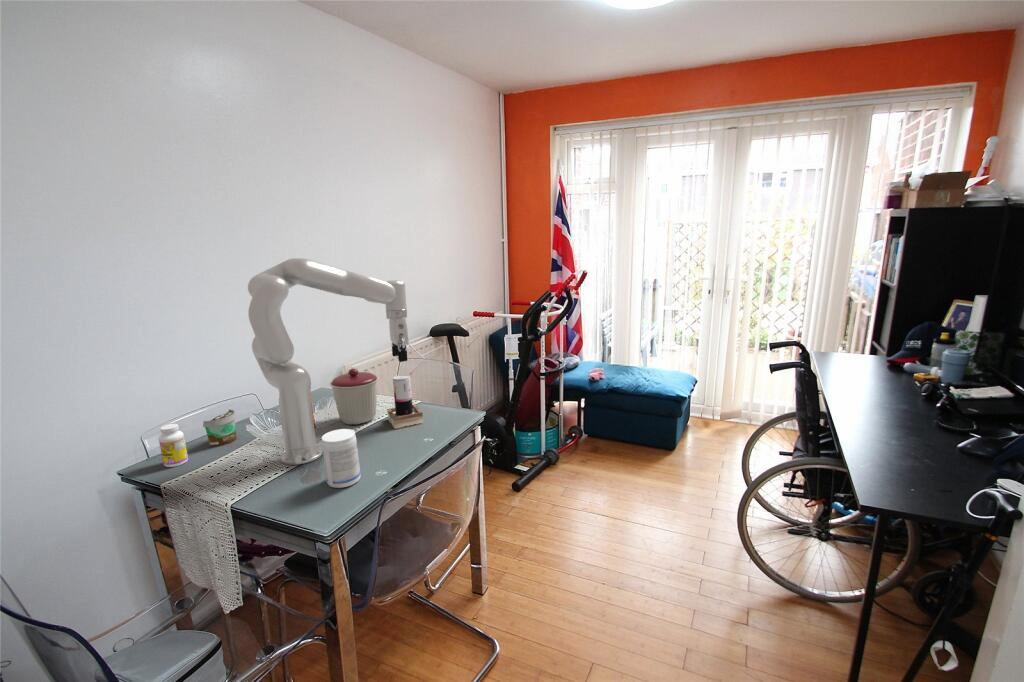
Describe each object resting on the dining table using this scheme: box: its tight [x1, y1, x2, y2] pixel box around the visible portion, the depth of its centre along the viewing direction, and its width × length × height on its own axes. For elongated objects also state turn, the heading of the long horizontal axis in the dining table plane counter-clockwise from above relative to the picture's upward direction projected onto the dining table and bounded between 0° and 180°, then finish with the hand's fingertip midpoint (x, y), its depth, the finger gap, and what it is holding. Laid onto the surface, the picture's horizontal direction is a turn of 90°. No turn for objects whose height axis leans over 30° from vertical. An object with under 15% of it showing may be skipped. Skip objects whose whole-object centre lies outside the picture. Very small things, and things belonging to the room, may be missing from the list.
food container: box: [202, 409, 238, 447], centre depth 169 cm, size 12×6×10 cm, turn 168°
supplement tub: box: [320, 428, 362, 489], centre depth 138 cm, size 10×10×15 cm
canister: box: [329, 368, 379, 425], centre depth 185 cm, size 18×18×21 cm
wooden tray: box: [387, 403, 424, 430], centre depth 184 cm, size 11×11×4 cm
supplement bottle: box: [158, 423, 189, 468], centre depth 153 cm, size 7×7×13 cm
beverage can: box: [392, 374, 413, 416], centre depth 182 cm, size 7×7×15 cm
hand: (399, 358), depth 179 cm, fingers open, 9 cm apart
